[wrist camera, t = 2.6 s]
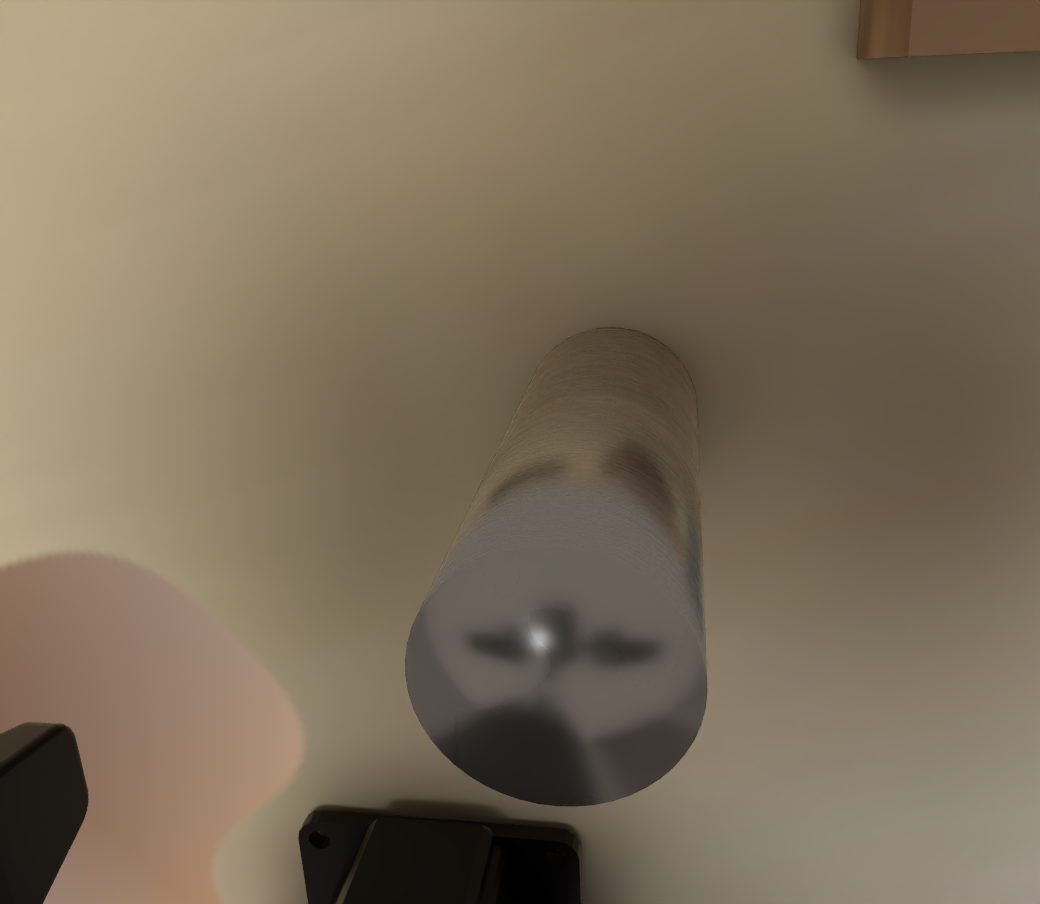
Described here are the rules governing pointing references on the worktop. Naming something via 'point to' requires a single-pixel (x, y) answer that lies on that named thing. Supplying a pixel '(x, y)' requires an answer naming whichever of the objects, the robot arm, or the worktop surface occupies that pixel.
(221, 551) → the worktop surface
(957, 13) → the bore block
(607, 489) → the cylinder
